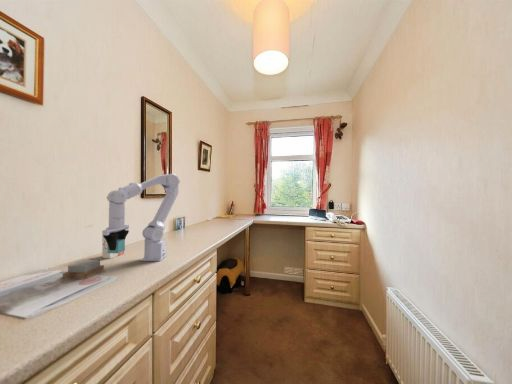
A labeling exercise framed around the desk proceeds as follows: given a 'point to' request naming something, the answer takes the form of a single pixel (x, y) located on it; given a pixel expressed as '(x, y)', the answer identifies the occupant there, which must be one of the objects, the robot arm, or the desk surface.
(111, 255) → the ink cartridge box
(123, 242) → the teal block
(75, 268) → the gray slab
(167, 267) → the desk surface
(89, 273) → the walnut slab
